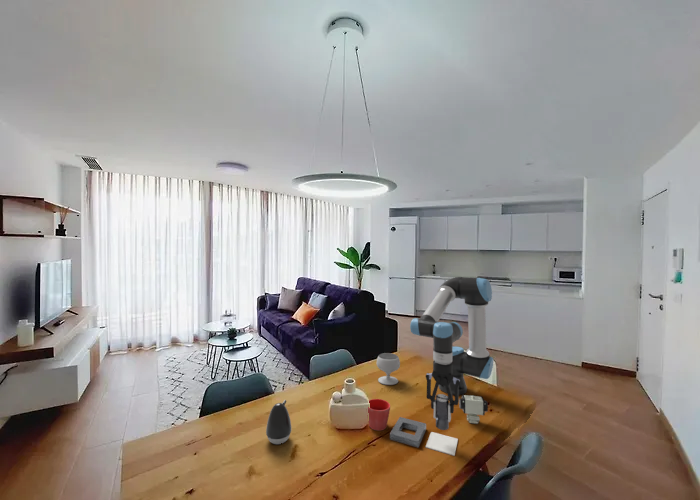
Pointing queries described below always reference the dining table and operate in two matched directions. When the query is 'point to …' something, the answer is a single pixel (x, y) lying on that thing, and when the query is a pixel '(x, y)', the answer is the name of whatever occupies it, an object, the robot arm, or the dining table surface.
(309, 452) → the dining table surface
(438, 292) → the robot arm
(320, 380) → the dining table surface
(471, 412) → the pneumatic valve
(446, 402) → the metal cylinder
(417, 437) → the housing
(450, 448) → the pad
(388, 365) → the chalice
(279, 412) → the dark grey tapered piece
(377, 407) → the flower pot
